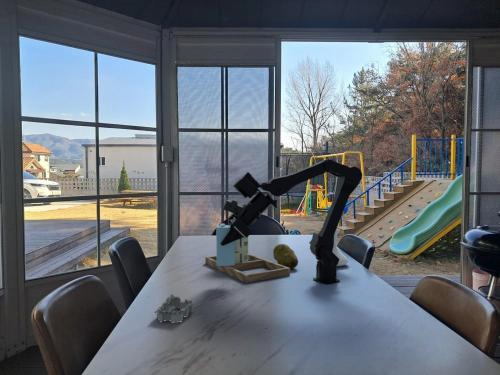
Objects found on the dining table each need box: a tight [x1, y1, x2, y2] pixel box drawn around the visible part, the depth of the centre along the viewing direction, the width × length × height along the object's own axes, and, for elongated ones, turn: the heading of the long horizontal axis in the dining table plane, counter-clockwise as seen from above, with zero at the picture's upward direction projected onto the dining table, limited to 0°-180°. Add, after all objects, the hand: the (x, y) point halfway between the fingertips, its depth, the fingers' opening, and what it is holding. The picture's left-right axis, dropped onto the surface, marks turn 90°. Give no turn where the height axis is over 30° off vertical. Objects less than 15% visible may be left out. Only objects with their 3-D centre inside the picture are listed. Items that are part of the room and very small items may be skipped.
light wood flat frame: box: [204, 253, 291, 284], centre depth 145 cm, size 31×18×2 cm, turn 32°
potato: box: [272, 243, 299, 270], centre depth 149 cm, size 8×13×8 cm, turn 5°
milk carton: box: [215, 223, 235, 266], centre depth 126 cm, size 6×6×13 cm
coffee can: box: [234, 235, 249, 263], centre depth 152 cm, size 10×10×14 cm
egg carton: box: [154, 293, 195, 323], centre depth 99 cm, size 11×8×4 cm
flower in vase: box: [333, 211, 349, 267], centre depth 152 cm, size 13×11×25 cm
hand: (221, 243), depth 125 cm, fingers closed on milk carton, 5 cm apart
